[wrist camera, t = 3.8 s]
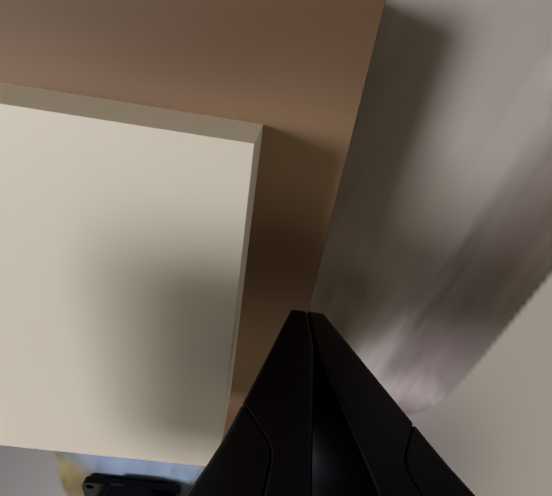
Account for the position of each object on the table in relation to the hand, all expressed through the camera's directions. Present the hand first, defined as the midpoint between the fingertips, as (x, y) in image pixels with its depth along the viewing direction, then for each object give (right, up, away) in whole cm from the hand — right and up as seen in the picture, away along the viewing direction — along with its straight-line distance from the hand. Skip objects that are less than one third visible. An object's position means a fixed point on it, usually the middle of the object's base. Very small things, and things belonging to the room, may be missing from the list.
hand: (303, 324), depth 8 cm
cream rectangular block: (-5, +1, 0) cm, 5 cm away
